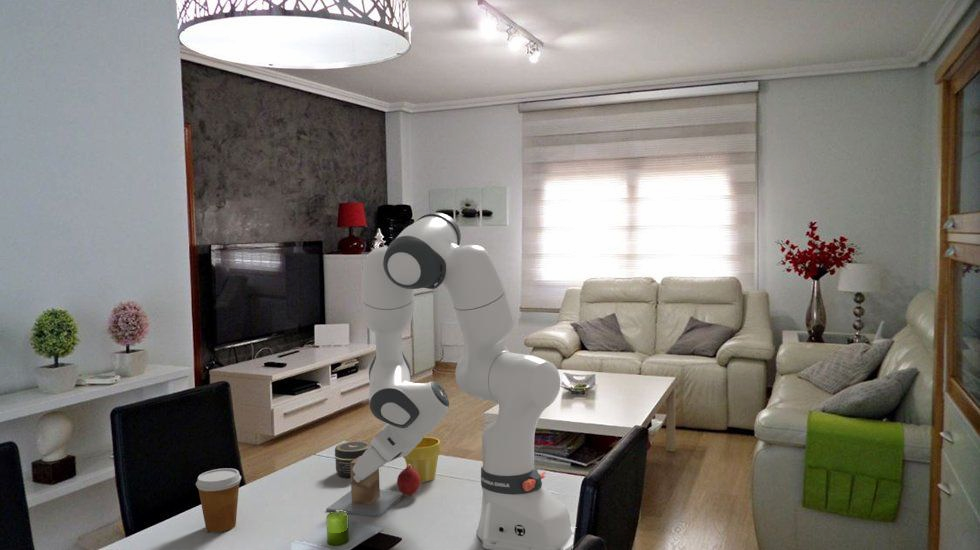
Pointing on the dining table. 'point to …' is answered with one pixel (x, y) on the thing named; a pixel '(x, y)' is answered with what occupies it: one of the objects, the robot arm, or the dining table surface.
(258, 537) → the dining table surface
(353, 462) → the walnut block
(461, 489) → the dining table surface
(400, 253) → the robot arm
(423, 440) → the plant pot
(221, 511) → the disposable coffee cup
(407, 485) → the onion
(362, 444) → the jar
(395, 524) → the dining table surface
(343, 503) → the slate coaster
